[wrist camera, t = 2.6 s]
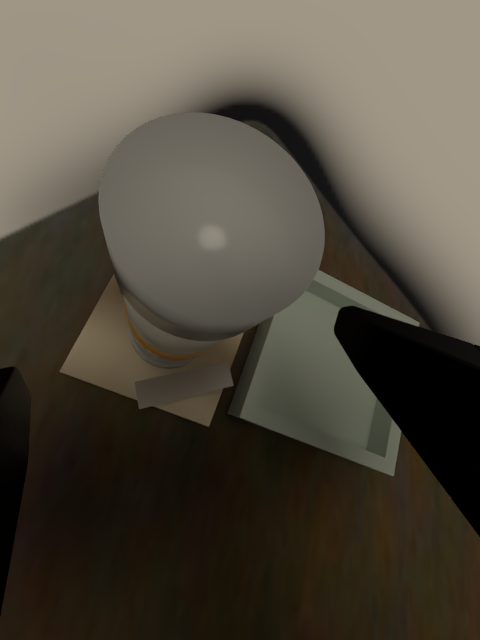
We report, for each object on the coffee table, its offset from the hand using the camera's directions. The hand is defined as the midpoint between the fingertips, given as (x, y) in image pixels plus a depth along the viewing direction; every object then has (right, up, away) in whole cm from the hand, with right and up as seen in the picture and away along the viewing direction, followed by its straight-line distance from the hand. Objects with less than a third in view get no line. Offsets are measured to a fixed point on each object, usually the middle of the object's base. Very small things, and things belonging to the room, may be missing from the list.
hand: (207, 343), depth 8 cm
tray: (+6, -2, +12) cm, 14 cm away
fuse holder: (-3, 0, +9) cm, 10 cm away
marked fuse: (-3, 0, +8) cm, 9 cm away
